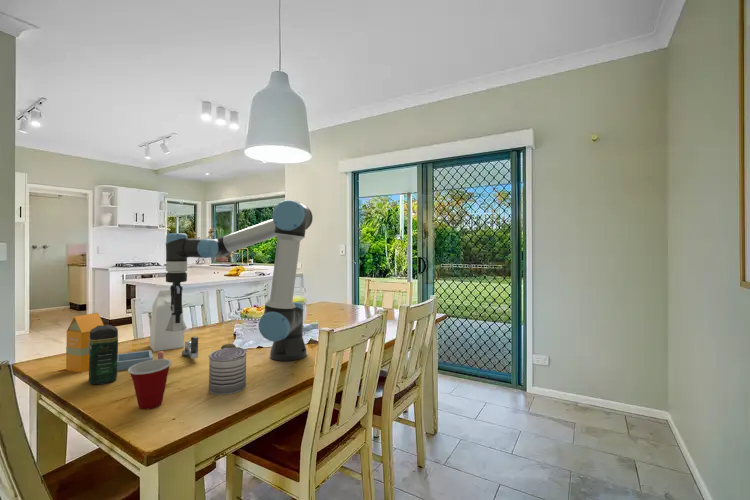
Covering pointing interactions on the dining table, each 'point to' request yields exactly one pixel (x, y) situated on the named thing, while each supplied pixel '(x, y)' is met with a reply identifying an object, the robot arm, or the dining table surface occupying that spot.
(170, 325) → the flask
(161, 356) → the stop post
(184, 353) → the crank base
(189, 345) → the crank
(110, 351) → the coffee jar
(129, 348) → the dining table surface
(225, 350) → the can
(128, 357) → the tray
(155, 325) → the milk
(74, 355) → the orange juice
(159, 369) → the plastic cup
